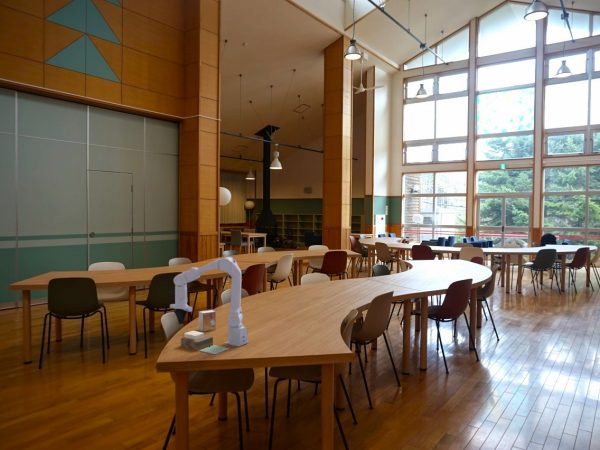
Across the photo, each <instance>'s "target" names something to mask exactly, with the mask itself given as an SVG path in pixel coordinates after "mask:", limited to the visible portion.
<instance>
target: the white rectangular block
mask: <svg viewBox="0 0 600 450" xmlns="http://www.w3.org/2000/svg"><path fill="white" fill-rule="evenodd" d="M204 335H205V333H204V332H202V331H197V330H191V331H187V332H185V333H183V338H184V337H185V338H189V339H193V340H197V339H200V338H203V337H204Z"/></svg>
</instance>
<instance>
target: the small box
mask: <svg viewBox="0 0 600 450" xmlns="http://www.w3.org/2000/svg"><path fill="white" fill-rule="evenodd" d="M216 316H217V313H216V311H215V310H213V309H207V310H202V311H198V330H199V331H200V332H202V333H204V332H207V331H208V332H209V331H215V330H216V324H217V322H216V319H217V317H216Z"/></svg>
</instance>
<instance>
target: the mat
mask: <svg viewBox="0 0 600 450" xmlns="http://www.w3.org/2000/svg"><path fill="white" fill-rule="evenodd" d="M228 349H229V350H230V348H229V347H225V346H222V345H216V344H213V345H212V346H210V347H207V348H204V349H201V350H199V352H202V353H206V354H209V353H210V354H209V355H213V354H214V355H215V354H216V355H218V354H221V353H223V352H225V350H226V351H228ZM220 352H221V353H220Z"/></svg>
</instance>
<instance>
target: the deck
mask: <svg viewBox="0 0 600 450" xmlns="http://www.w3.org/2000/svg"><path fill="white" fill-rule="evenodd" d="M213 345H214V338H213V336H209V335H205V334H204V337H203V338H200V339H197V340H193V339H189V338H185V337H184V336H183V337H181V338H180V346H181V348H186V349H191V350H194V351H200V350H201V349H204V348H206V347H209V346H213Z"/></svg>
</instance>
